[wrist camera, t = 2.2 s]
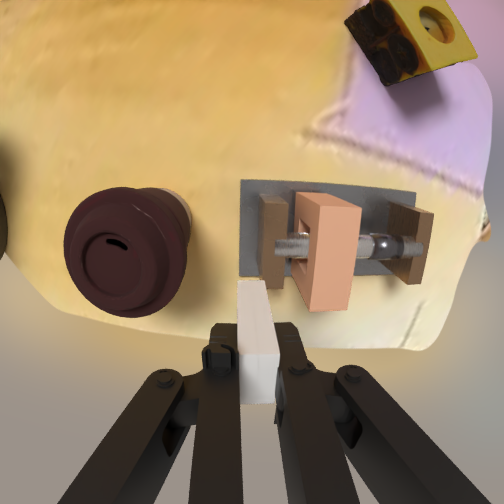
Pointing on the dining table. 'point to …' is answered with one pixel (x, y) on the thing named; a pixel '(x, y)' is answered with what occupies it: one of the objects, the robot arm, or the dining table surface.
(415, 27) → the candle
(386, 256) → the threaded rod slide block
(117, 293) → the coffee cup
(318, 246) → the collar
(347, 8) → the dining table surface
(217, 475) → the robot arm
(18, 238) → the dining table surface
